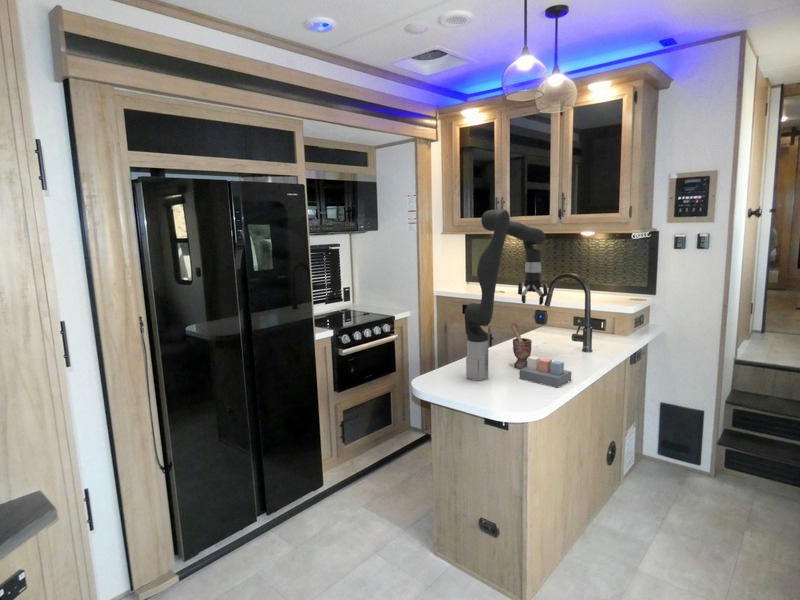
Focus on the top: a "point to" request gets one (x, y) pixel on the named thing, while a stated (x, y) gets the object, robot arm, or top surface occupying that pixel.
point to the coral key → (545, 365)
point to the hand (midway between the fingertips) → (532, 303)
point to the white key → (533, 363)
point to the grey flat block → (545, 377)
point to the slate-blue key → (557, 368)
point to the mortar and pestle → (520, 348)
